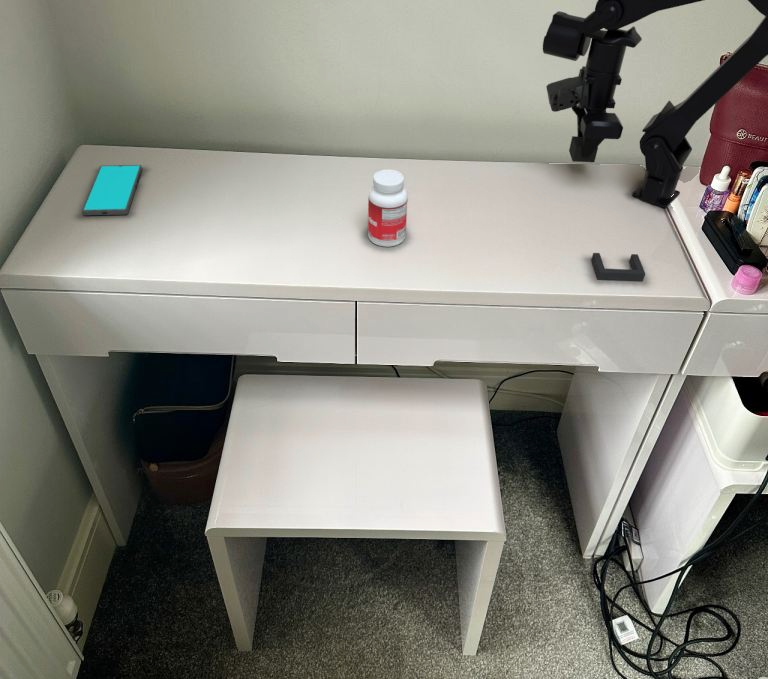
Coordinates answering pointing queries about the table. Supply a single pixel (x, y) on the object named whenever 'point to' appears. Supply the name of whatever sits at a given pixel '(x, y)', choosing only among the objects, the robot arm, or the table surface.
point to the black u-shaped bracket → (618, 270)
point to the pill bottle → (387, 208)
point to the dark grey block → (580, 151)
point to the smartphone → (112, 190)
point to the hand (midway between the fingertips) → (582, 151)
